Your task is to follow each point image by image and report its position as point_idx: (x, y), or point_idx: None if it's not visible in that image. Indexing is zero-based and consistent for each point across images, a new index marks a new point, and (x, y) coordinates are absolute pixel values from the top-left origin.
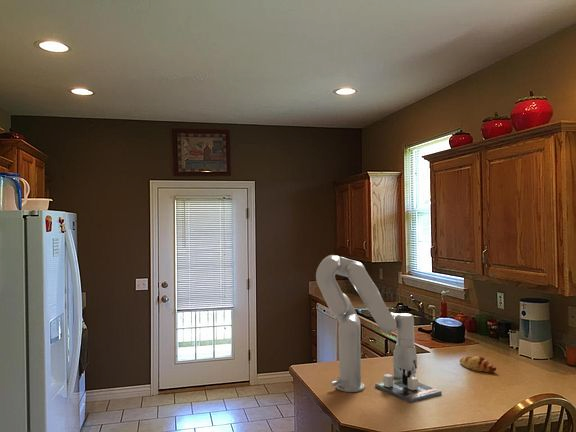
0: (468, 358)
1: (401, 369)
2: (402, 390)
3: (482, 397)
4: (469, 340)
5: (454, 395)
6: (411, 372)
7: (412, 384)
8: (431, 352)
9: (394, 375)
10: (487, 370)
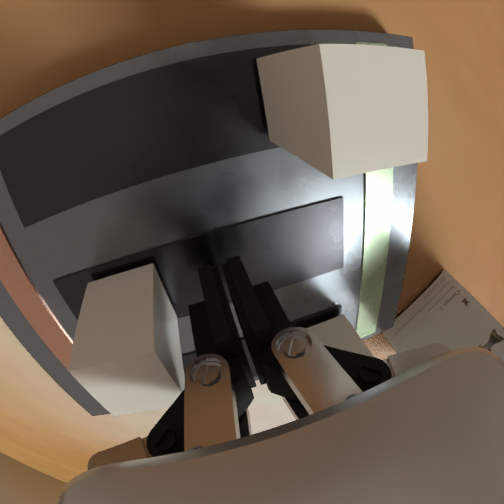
0: None
1: (333, 386)
2: (117, 185)
3: (74, 460)
4: None
5: (86, 425)
6: (133, 451)
7: (77, 323)
8: None
9: (447, 279)
10: None
